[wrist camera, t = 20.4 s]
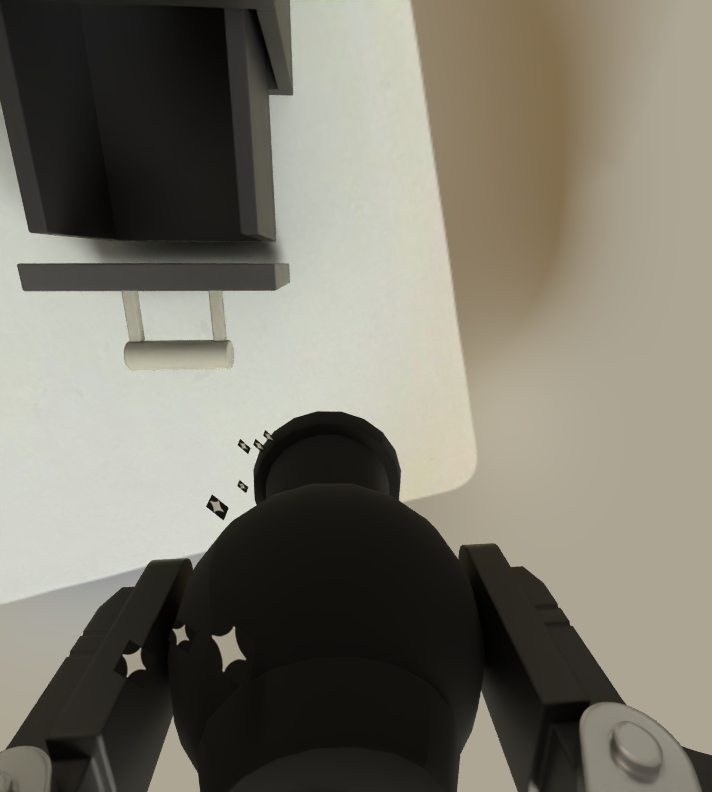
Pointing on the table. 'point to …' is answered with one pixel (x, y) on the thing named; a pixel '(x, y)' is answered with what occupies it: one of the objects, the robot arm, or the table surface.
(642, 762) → the robot arm
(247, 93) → the open grey drawer
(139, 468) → the table surface
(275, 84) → the grey drawer cabinet
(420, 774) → the gumball machine
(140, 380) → the table surface
